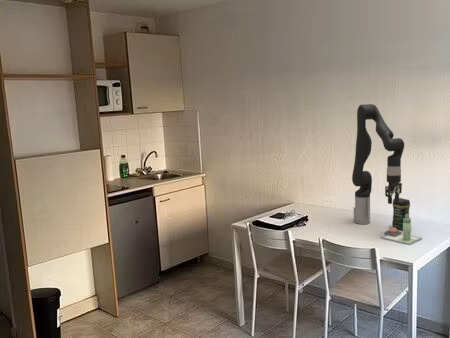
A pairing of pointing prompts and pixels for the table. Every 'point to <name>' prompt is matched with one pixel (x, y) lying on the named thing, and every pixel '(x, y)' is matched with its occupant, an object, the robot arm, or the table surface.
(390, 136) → the robot arm
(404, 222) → the marker
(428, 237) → the table surface
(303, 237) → the table surface
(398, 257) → the table surface
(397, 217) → the coffee jar
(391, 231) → the button
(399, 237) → the board
